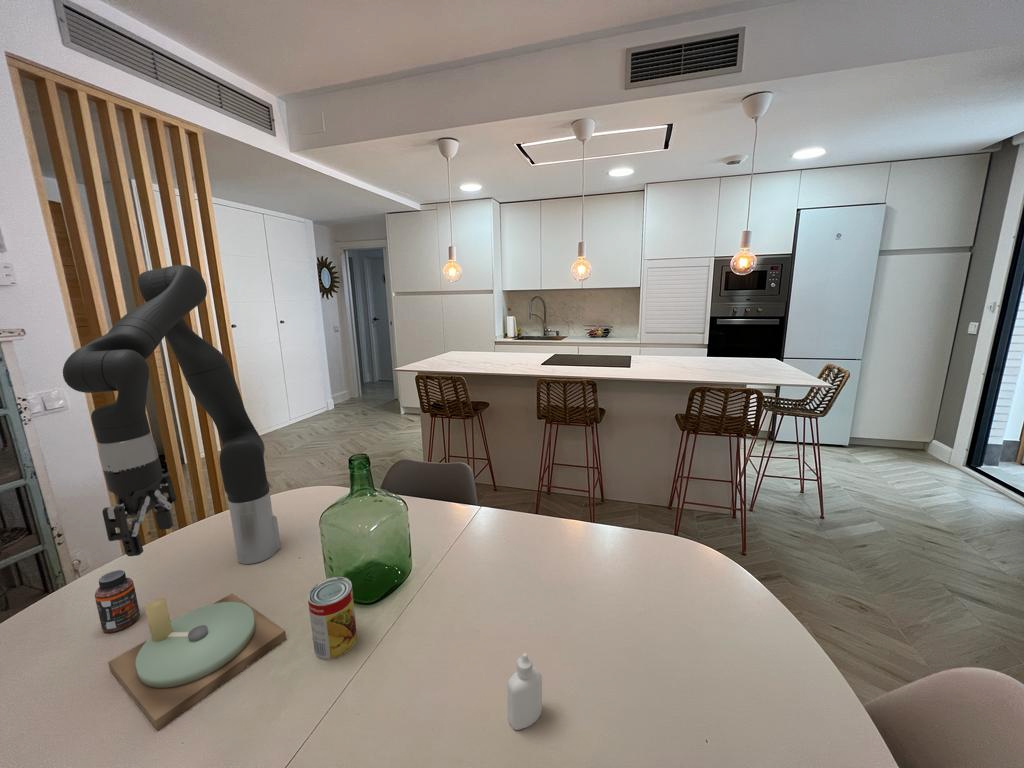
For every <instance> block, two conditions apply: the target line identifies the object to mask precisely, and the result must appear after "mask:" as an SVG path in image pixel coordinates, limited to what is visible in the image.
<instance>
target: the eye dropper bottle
mask: <svg viewBox="0 0 1024 768" xmlns="http://www.w3.org/2000/svg"><path fill="white" fill-rule="evenodd" d="M542 677H543V676H542V674H541V672H540V671H539V669H538V668H537V667H535V666H533V660H532V658H531V657H529V656H528V654H527V653H526V652H522V656H520V657H519V658H518V659H517V661H516V671H515V672H514V673H513V674H512V676H510V678H509V680H508V681H507V686H506V687H507V689H506V690H507V691H506V692H507V695H506V697H507V721H508V722H509V724H510V726H511V727H512V729H513V730H515V731H519V730H520V731H521V730H523V728H524V729H526V728H528V727H530V726H532V725H533V724H534V723H536V721H538V720H539V718H540V716H541V715H542V711H543V679H542Z"/></svg>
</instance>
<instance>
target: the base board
mask: <svg viewBox="0 0 1024 768" xmlns="http://www.w3.org/2000/svg"><path fill="white" fill-rule="evenodd" d="M222 602H238V603H242V604H245V605H247V606H249V607H250V608H251V610H252V611H253V614H254V620H255V630H254V633H253V635H252V637H251V639H250V641H249V642H248V644H247V645H246V646H245V647H244V648H243V650H242V651H241V652H240V653H239V654H238V655H236V656H235V657H234V658H233V659H232V660H230V661H229V662H228V663H226V664H225V665H224V666H222V667H220V668H219V669H217V670H216V671H214V672H212V673H210V674H208V675H206V676H204V677H202V678H200V679H197V680H195V681H192V682H189V683H186V684H183V685H179V686H175V687H168V688H154V687H150V686H147V685H145V684H143V683H142V682H141V681H140V679H139V677H138V673H137V669H136V658H137V655H138V653H139V651H140V649H141V648H142V646H143V645H144V644H145V643H146V641H147V640H146V641H144V642H141V643H139V644H138V645H136V646H134V647H132V648H131V649H128V650H127V651H125V652H123V653H122V654H120V655H118V656H116V657H114V658H112V659H111V660H109V661H107V664H108V667H109V671H110V673H111V674H112V675H113V677H114V678H115V679H116V681H118V683H119V684H120V685H121V687H122V688H123V689H124V691H125V693H127V694H128V695H129V697H130V698H131V700H133V702H134V703H135V705H136V707H138V708H139V710H140V711H141V712H142V713H143V714H144V716H145V718H147V719H148V721H149V722H150V723H151V724H152V726H153V727H154V728H155V730H156V731H157V732H158V731H160V730H161V729H162V728H163V727H165V726H166V725H168V724H169V723H171V722H172V721H173V720H175V719H176V718H178V717H179V716H180V715H181V714H183V713H185V712H186V711H187V710H189V709H190V708H192V707H193V706H194V705H196V704H197V703H198V702H200V701H201V700H202V699H204V698H206V697H207V696H208V695H210V694H211V693H212V692H214V691H216V690H217V689H218V688H220V687H221V686H222V685H224V684H225V683H226V682H228V681H230V680H231V679H232V678H234V677H235V676H237V675H238V674H240V673H241V672H242V671H243V670H245V669H246V668H247V667H250V666H251V665H252V664H253V663H255V662H257V660H260V659H261V658H262V657H264V655H266V654H268V653H269V652H270V651H272V650H273V649H275V648H276V647H277V646H279V645H280V644H281V643H283V642H284V641H285V640H287V634H286V633H287V632H286V629H284V628H283V627H281V626H280V625H278V624H277V623H276V622H274V621H272V620H271V619H269V617H267V616H266V615H264V614H263V613H261V612H260V611H258V610H257V609H255V608H254V607H252V606H251V605H249V604H248V603H247V602H245V601H244V600H242V599H241V598H240V597H239V596H237V595H235V594H234V593H230V594H227V595H226V596H224V597H222V598H220V599H218V600H217V601H216V602H214V603H213V604H216V603H222Z"/></svg>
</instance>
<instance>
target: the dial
mask: <svg viewBox="0 0 1024 768" xmlns="http://www.w3.org/2000/svg"><path fill="white" fill-rule="evenodd" d="M144 608H145V613H146V618H147V622H148V625H149V631H150V632H149V633H150V637H149V638H148V639H147V640H146V643H145V644H144V645H143V646H142V648H141V649H140V651H139V653H138V655H137V658H136V669H137V673H138V677H139V679H140V681H141V682H142V683H143V684H145V685H147V686H150V687H154V688H168V687H175V686H179V685H183V684H186V683H189V682H192V681H195V680H197V679H200V678H202V677H204V676H206V675H208V674H210V673H212V672H214V671H216V670H217V669H219V668H220V667H222V666H224V665H225V664H226V663H228V662H229V661H230V660H232V659H233V658H234V657H235V656H236V655H238V654H239V653H240V652H241V651H242V650H243V648H244V647H245V646H246V645H247V644H248V642H249V641H250V639H251V637H252V635H253V633H254V630H255V620H254V614H253V611H252V610H251V608H250V607H249V606H247V605H245V604H242V603H238V602H222V603H216V604H214V603H212V604H208V605H204V606H202V607H198V608H196V609H192V610H190V611H188V612H186V613H184V614H182V615H180V616H178V617H176V618H175V619H173V620H171V617H170V612H169V607H168V602H167V599H166V598H165V597H160V598H156V599H153V600H151V601H150V602H148V603H147V604H146V605H145V607H144Z"/></svg>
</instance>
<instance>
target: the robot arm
mask: <svg viewBox="0 0 1024 768" xmlns="http://www.w3.org/2000/svg"><path fill="white" fill-rule="evenodd" d="M137 283H138V288H139V292H140V294H141V296H142V298H143V301H144V303H142V304H141V305H139V306H136V307H135V308H133V309H132V310H130V311H129V312H127V313H126V314H124V315H123V316H122V317H121V318H120V319H119V320H118V321H117V322H116V323H115V324H114V326H112V327H111V329H110V330H109V331H108V332H107V333H106V334H103V335H102V336H100V337H97V338H95V339H94V340H91V341H90V342H89V343H87V344H85V345H83V346H81V347H80V348H78V349H76V350H75V351H74V352H72V353H71V355H70V356H69V357H67V359H65V362H64V365H63V367H62V376H63V380H64V382H65V383H66V385H67V386H68V387H69V388H70V389H73V390H74V391H77V392H79V393H86V394H91V393H92V394H94V393H105V392H107V393H109V392H117V397H116V400H115V402H113V403H109V404H105V405H103V406H100V407H98V408H95V409H94V410H92V412H91V416H90V417H91V418H90V419H91V422H92V423H91V424H92V428H93V430H94V434H95V438H96V442H97V449H98V455H99V456H98V457H99V461H100V464H101V468H102V471H103V475H104V479H105V483H106V486H107V490H108V491H109V492H110V493H111V494H112V493H113V494H114V495H116V496H117V497H116V498H117V502H116V504H115V505H112V506H107V507H104V508H103V509H102V516H103V521H104V526H105V530H106V535H107V539H108V541H109V542H114V541H121V542H122V545H123V550H124V553H125V555H126V556H127V557H134V556H140V555H142V553H143V552H144V548H143V543H142V540H141V536H140V534H139V530H140V525H141V524H142V523H143V522H144V521H145V516H146V514H148V513H149V512H150V511H151V510H153V511H155V512H154V516H155V520H156V523H157V527H158V529H159V530H160V531H164V530H169V529H171V528H172V527H174V523H173V518H172V514H171V513H172V512H171V509H172V507H173V506H172V504H173V503H176V502H177V496H176V492H175V488H174V484H173V482H172V478H171V475H170V474H165V475H164V474H163V469H162V465H161V461H160V457H159V453H158V449H157V445H156V442H155V440H154V437H153V435H152V431H151V428H150V424H149V419H148V415H147V396H148V387H149V379H150V369H149V368H150V367H149V364H148V362H147V361H146V360H147V359H148V358H150V357H151V355H152V354H153V353H154V352H155V350H156V349H157V347H158V346H159V344H160V343H161V342H162V340H163V339H164V338H166V340H167V342H168V344H169V346H170V348H171V350H172V352H173V354H174V357H175V358H176V360H177V363H178V366H179V368H180V371H181V373H182V375H183V377H184V379H185V381H186V384H187V385H188V387H189V390H190V391H191V394H192V395H193V398H195V400H196V401H197V403H198V404H199V405H200V406H201V407H202V408H203V410H204V411H205V412H206V413H207V414H208V416H210V418H211V419H212V422H213V423H214V425H215V427H216V430H217V432H218V435H219V438H220V440H221V445H222V449H221V451H220V454H219V467H220V473H221V479H222V483H223V488H224V491H225V493H226V496H227V502H228V507H229V508H228V509H229V513H230V520H231V528H232V533H233V538H234V545H235V552H236V557H237V561H238V562H239V563H240V564H243V565H251V564H252V565H253V564H257V563H258V564H259V563H261V562H263V561H265V560H268V559H269V558H271V557H272V556H274V555H275V554H276V553H277V552H278V551H279V550H281V549H282V545H281V540H280V539H281V538H280V531H279V524H278V523H279V522H278V517H277V516H276V515H274V513H273V506H272V501H271V500H272V498H271V492H270V484H269V480H268V477H267V469H266V465H265V458H264V457H265V456H264V455H265V448H266V447H265V444H264V441H263V439H262V438H261V436H260V434H259V433H258V431H257V429H256V428H255V426H254V424H253V422H252V420H251V418H250V417H249V415H248V413H247V411H246V408H245V405H244V402H243V399H242V395H241V393H240V389H239V387H238V384H237V381H236V379H235V376H234V374H233V371H232V369H231V366H230V364H229V362H228V360H227V358H226V356H224V354H223V353H222V351H220V350H219V349H218V348H217V347H215V346H213V345H212V344H211V343H210V342H208V341H207V340H205V339H203V338H202V337H201V336H199V335H198V334H197V333H196V332H195V331H193V330H192V329H191V327H190V326H189V325H188V323H187V322H186V319H185V318H184V317H185V316H187V315H188V314H189V313H190V312H191V311H193V310H194V309H195V308H196V307H198V306H200V305H201V304H202V303H203V302H204V301H205V300H206V297H207V295H208V289H207V287H208V286H207V284H206V282H205V279H204V277H203V276H202V275H201V273H200V272H199V271H198V270H197V269H195V268H194V267H192V266H190V265H185V264H175V265H169V266H165V267H161V268H155V269H150V270H146V271H143V272H141V273H140V274H139V276H138V278H137ZM165 494H167V495H168V496H165ZM128 516H129V517H130V518H128ZM131 517H132V518H131ZM129 525H131V527H130V530H129ZM116 528H117V529H118V531H117V530H116Z"/></svg>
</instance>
